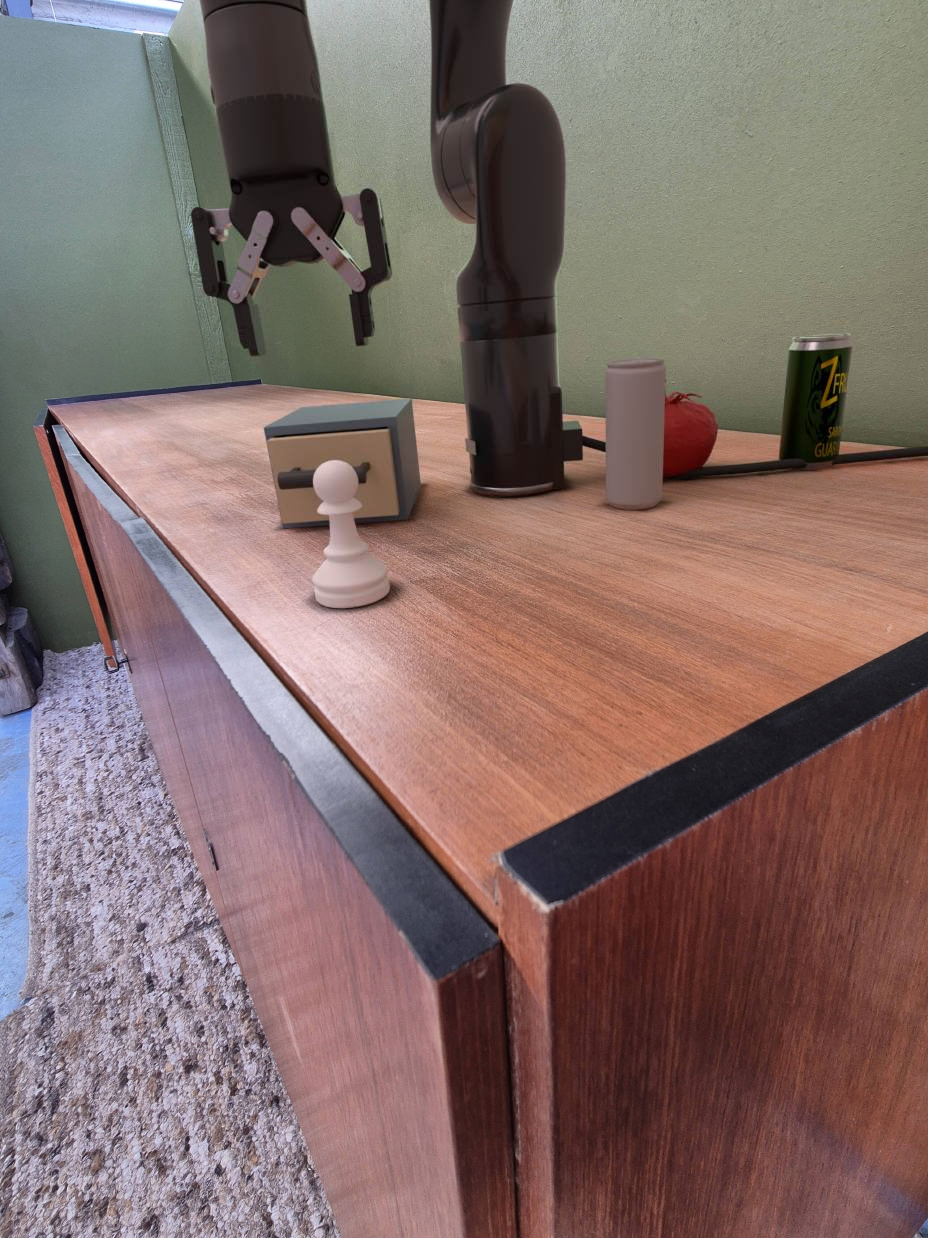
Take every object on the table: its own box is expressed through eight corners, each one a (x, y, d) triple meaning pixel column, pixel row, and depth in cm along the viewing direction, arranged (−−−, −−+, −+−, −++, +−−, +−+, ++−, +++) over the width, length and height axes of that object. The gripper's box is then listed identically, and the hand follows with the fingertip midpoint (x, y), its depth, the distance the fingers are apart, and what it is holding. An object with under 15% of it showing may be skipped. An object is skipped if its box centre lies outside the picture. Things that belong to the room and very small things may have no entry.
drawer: (391, 530, 58) (380, 439, 56) (267, 538, 59) (250, 450, 56) (412, 483, 74) (404, 411, 71) (313, 490, 75) (301, 419, 72)
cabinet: (407, 519, 64) (395, 416, 61) (282, 528, 65) (263, 427, 62) (421, 485, 77) (411, 398, 73) (315, 493, 78) (301, 407, 74)
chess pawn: (337, 615, 45) (313, 473, 41) (303, 596, 48) (278, 463, 45) (404, 593, 47) (387, 457, 44) (367, 576, 51) (348, 450, 48)
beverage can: (663, 510, 60) (667, 360, 56) (605, 511, 61) (604, 365, 57) (660, 496, 65) (664, 355, 60) (606, 497, 66) (606, 360, 61)
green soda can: (767, 466, 72) (777, 339, 67) (797, 457, 74) (810, 333, 70) (818, 473, 68) (833, 337, 63) (848, 462, 70) (865, 332, 66)
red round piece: (723, 481, 68) (730, 379, 64) (616, 487, 69) (616, 387, 65) (705, 460, 77) (709, 369, 73) (610, 465, 78) (610, 376, 74)
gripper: (378, 106, 53) (404, 340, 59) (192, 127, 54) (238, 355, 60) (361, 76, 46) (392, 344, 52) (148, 101, 47) (205, 362, 53)
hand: (310, 350), depth 56 cm, fingers open, 8 cm apart
